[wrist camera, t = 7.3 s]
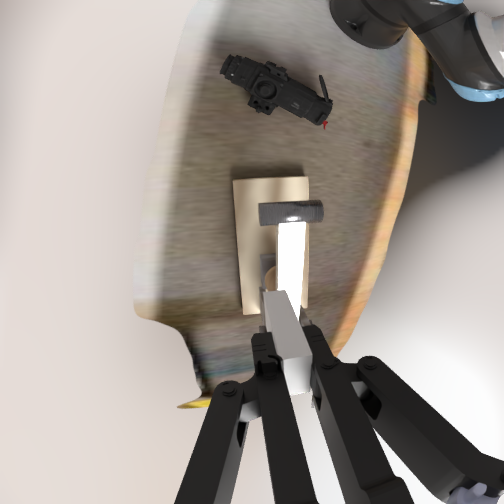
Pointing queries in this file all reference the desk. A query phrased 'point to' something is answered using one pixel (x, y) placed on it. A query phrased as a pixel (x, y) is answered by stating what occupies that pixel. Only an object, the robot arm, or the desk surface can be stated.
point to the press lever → (290, 240)
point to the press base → (265, 240)
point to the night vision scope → (277, 89)
